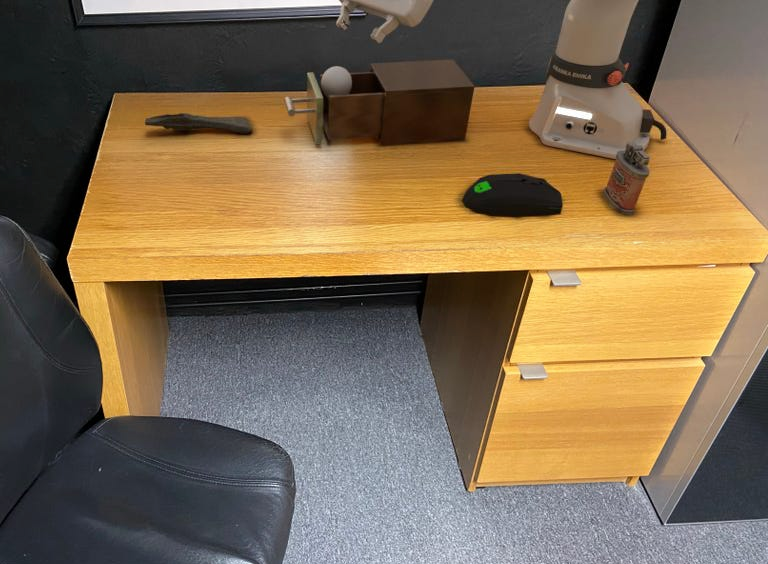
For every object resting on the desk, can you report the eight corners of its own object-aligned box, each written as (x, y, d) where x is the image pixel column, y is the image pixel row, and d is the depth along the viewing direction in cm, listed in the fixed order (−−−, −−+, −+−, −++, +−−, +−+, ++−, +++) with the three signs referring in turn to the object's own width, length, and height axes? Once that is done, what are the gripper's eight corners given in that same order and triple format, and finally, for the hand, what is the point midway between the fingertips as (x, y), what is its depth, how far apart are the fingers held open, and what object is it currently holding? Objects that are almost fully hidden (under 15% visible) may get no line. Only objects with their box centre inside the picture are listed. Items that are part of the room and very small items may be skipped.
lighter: (598, 191, 120) (617, 136, 113) (617, 190, 120) (637, 135, 113) (618, 215, 114) (639, 159, 107) (638, 214, 114) (660, 158, 107)
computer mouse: (454, 184, 122) (457, 163, 119) (545, 180, 122) (551, 159, 120) (471, 219, 113) (475, 197, 111) (569, 214, 114) (576, 193, 111)
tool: (247, 124, 143) (248, 109, 141) (253, 138, 137) (254, 122, 135) (144, 123, 138) (143, 107, 137) (145, 137, 132) (145, 121, 131)
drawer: (290, 145, 131) (290, 99, 125) (282, 117, 140) (282, 73, 134) (395, 139, 133) (400, 93, 127) (381, 112, 142) (385, 68, 136)
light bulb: (335, 126, 132) (328, 70, 127) (320, 122, 137) (313, 69, 132) (361, 119, 134) (356, 64, 129) (346, 115, 139) (340, 62, 134)
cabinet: (380, 146, 133) (385, 91, 125) (366, 116, 142) (370, 63, 135) (464, 140, 134) (474, 86, 127) (444, 111, 144) (453, 59, 137)
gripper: (353, -59, 127) (311, 9, 129) (435, -38, 115) (387, 37, 117) (369, -35, 132) (329, 30, 134) (450, -13, 120) (404, 58, 122)
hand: (357, 33), depth 125 cm, fingers open, 8 cm apart
